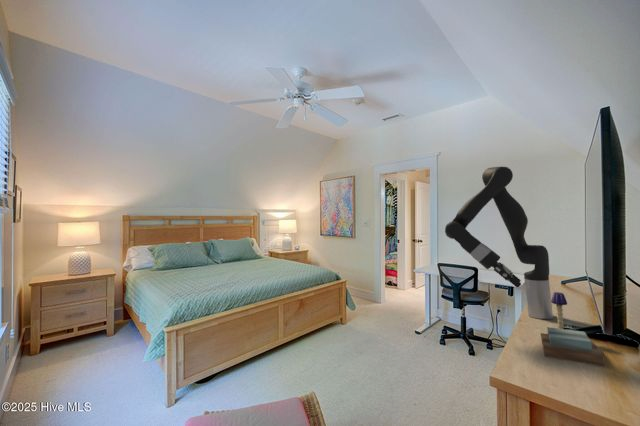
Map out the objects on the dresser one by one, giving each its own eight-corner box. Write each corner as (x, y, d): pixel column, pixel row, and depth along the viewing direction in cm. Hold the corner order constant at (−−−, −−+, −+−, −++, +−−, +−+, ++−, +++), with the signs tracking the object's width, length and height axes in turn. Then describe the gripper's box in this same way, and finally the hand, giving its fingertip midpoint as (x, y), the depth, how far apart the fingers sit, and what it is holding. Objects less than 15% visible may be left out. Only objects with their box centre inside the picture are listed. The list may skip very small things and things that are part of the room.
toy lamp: (564, 334, 107) (559, 291, 109) (574, 339, 103) (569, 293, 104) (551, 335, 108) (546, 291, 109) (560, 339, 103) (555, 294, 104)
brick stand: (541, 341, 103) (539, 324, 103) (593, 348, 95) (591, 330, 95) (545, 356, 91) (543, 337, 92) (604, 366, 83) (601, 345, 84)
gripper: (490, 250, 114) (527, 280, 106) (492, 248, 125) (526, 275, 118) (476, 263, 116) (512, 293, 109) (479, 260, 128) (512, 287, 121)
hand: (519, 284), depth 113 cm, fingers open, 8 cm apart
